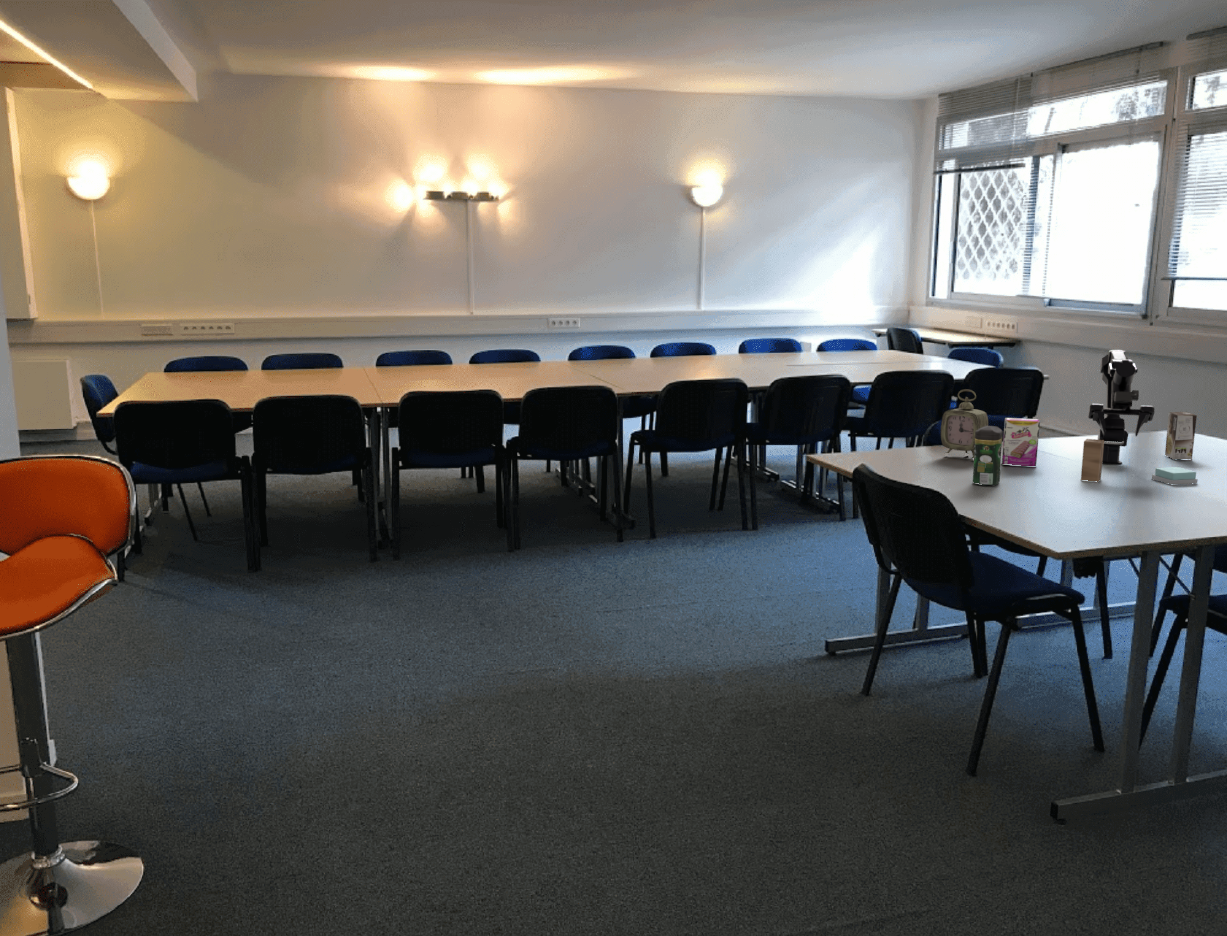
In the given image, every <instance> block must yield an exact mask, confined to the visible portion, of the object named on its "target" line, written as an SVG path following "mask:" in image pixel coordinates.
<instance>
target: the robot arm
mask: <svg viewBox="0 0 1227 936" xmlns="http://www.w3.org/2000/svg"><path fill="white" fill-rule="evenodd" d="M1138 370H1139V369H1138V367H1137V366H1136V363H1134V361H1133V360H1132V359H1130V358H1128V357H1127V356H1126V350H1123V349H1110V350H1108V353H1107V354H1106V355H1104V356H1103V357H1102V358H1101V361H1100V365H1099V373H1100V374H1101V380H1102V381H1103V383H1105V385H1106V400H1105V401H1106V402H1105V403H1106V405H1105V407H1104V403H1091V404H1090V405H1089V408H1088V419H1090V420H1092V421H1094V422H1096V423H1097V425H1098V426H1099V429H1098V435H1097V440H1104V448H1103V460H1102V465H1103V464H1104V465H1106V464H1107V465H1108V464H1109V465H1110V464H1111V465H1123V462H1122V461H1121V460H1120V451H1121V447H1126V446H1128V439H1129V432H1128V431H1127V430H1128V429H1126V425H1125V423H1126V422H1125V419H1124V418H1121V417H1120V416H1138V418H1137V421H1136V428H1135V437H1138V435H1139V432H1140V430H1141V429H1142V426H1143V425H1144V424H1146V423H1149V422H1151V421H1153V419H1154V415H1155V407H1154V406H1153V405H1144V404H1143V405H1142V404H1141V405H1140V407H1139V409H1135V408H1132V407H1133V401H1135V402H1137V401H1138V400H1139V398H1140V397H1139V396H1140V390H1138V389H1136V390H1135V389H1132V383H1133V381H1134V377H1135V375H1136V374H1137V373H1138Z"/></svg>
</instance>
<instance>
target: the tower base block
mask: <svg viewBox="0 0 1227 936" xmlns="http://www.w3.org/2000/svg"><path fill="white" fill-rule="evenodd" d="M1152 479H1154V480H1153V481H1155V480H1158V481H1162V482H1164V483H1163V484H1165V483H1169V484H1187V485H1193V484H1192V483H1197V484H1198V478H1196V479H1184V480H1170V479H1167V478H1164V477H1160V476H1157V475H1155V474H1151V480H1152ZM1158 481H1157V482H1158ZM1162 482H1161V483H1162Z"/></svg>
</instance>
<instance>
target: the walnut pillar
mask: <svg viewBox="0 0 1227 936" xmlns="http://www.w3.org/2000/svg"><path fill="white" fill-rule="evenodd" d="M1103 448H1104V440H1098V439H1093V438H1086V439H1085V440H1083V448H1082V449H1083V450H1082V460H1081V461H1082V462H1081V472H1080V481H1081V480H1088V481H1097V482H1098V481H1099V480H1100V481H1101V480H1102V470H1103V463H1102V460H1103ZM1100 481H1099V482H1100ZM1097 482H1096V483H1097ZM1099 482H1098V483H1099Z"/></svg>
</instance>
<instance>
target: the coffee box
mask: <svg viewBox="0 0 1227 936" xmlns="http://www.w3.org/2000/svg"><path fill="white" fill-rule="evenodd" d="M1197 417H1198V416H1197V415H1196V414H1194V413H1192V412H1189V411H1168V416H1167V418H1168V419H1167V425H1166V426H1167V428H1166V438H1165V450H1164V451H1165V452H1164V456H1165V455H1166V456H1165V457H1167V456H1168V457H1167V458H1169V457H1170V458H1169V459H1171V458H1172V459H1171V460H1173V459H1191V460H1190V461H1193V454H1194V447H1195V446H1194V444H1195V443H1194V442H1195V435H1196V428H1197V427H1196V425H1197V419H1198V418H1197Z"/></svg>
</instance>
